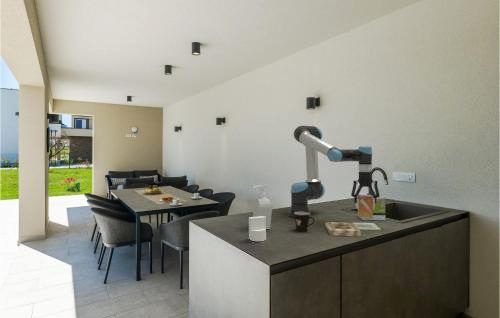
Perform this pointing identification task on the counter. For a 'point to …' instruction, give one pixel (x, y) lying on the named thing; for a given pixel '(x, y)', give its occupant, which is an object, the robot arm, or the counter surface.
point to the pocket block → (342, 229)
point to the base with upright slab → (257, 228)
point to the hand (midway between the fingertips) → (365, 208)
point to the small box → (365, 206)
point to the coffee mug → (302, 221)
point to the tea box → (377, 210)
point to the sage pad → (366, 226)
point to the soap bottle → (262, 206)
